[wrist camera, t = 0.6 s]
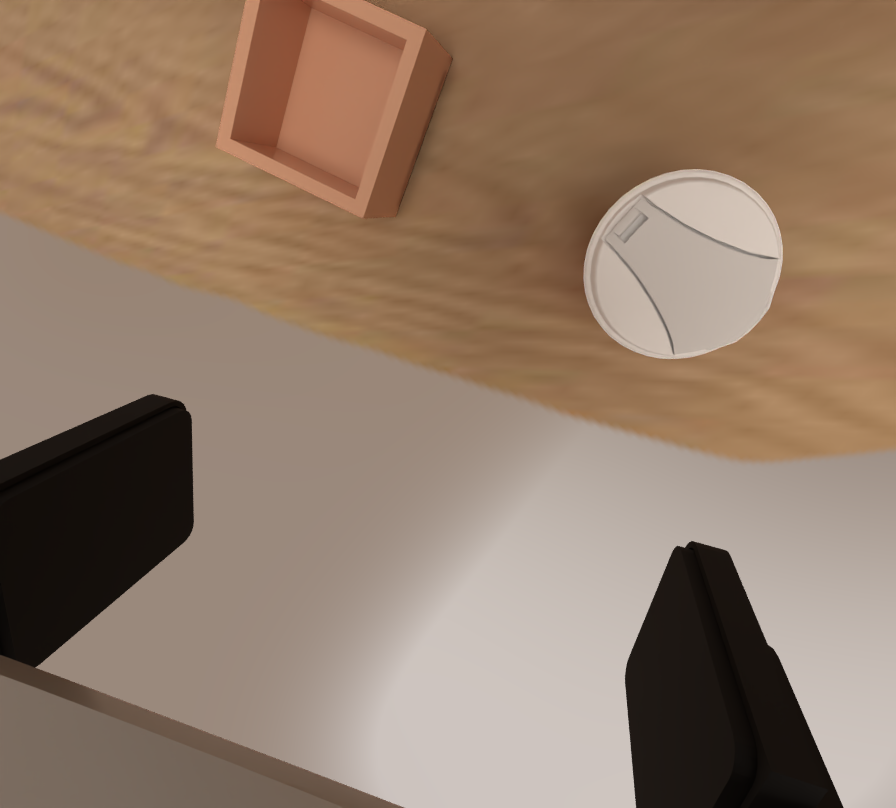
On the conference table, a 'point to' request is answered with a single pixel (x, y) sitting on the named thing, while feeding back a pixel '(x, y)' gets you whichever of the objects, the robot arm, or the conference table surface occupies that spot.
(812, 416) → the conference table surface
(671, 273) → the paper cup
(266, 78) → the open box
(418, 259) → the conference table surface
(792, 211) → the conference table surface
